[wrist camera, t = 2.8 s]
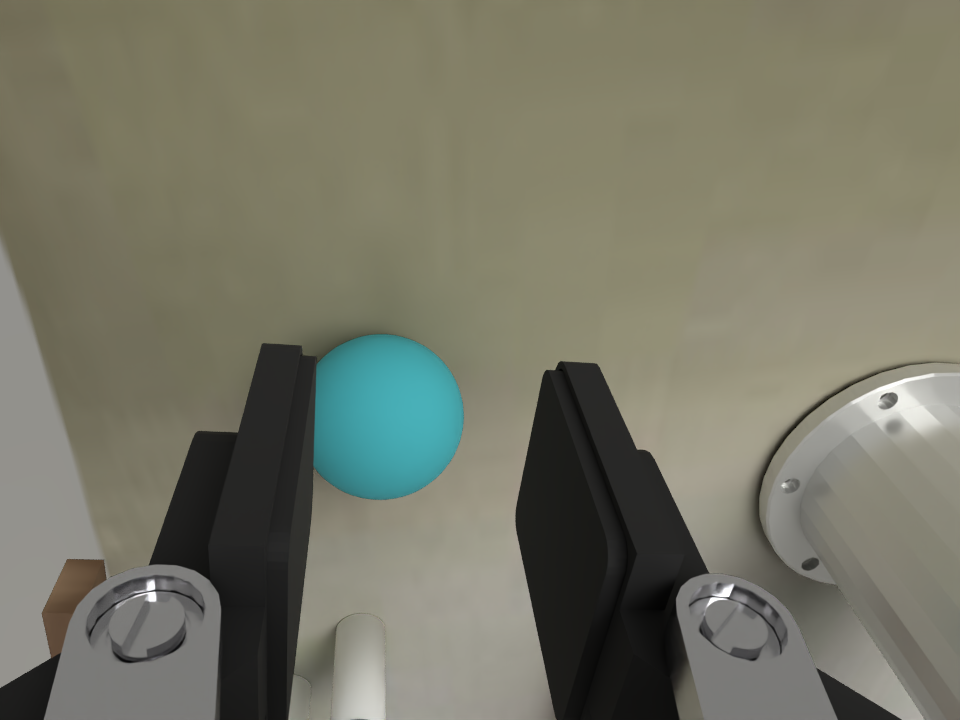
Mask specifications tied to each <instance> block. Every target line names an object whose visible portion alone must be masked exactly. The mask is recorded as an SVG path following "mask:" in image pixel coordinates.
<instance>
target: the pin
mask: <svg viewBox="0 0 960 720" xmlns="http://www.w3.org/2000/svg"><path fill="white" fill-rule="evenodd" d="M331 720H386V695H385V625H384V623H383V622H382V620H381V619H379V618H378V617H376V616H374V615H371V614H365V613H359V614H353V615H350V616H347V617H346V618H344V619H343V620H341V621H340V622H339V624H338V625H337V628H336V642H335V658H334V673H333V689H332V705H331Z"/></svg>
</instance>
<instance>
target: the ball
mask: <svg viewBox="0 0 960 720" xmlns="http://www.w3.org/2000/svg"><path fill="white" fill-rule="evenodd" d="M463 421H464V412H463V402H462V398H461V394H460V391H459V387H458V385H457V383H456V380H455V379H454V377H453V375H452V373H451V372H450V370H449V369H448V367H447V366H446V365H445V364H444V362H443V361H442V360H441V359H440V358H439V357H438V356H437V355H435V354H434V353H433V352H432V351H431V350H429V349H428V348H426V347H425V346H423V345H421V344H419V343H417V342H415V341H413V340H410V339H407V338H405V337H400V336H396V335H388V334H374V335H366V336H362V337H358V338H355V339H352V340H350V341H347V342H345V343H343V344H341V345H339V346H337V347H336V348H334V349H333V350H331V351H330V352H329V353H328V354H327V355H325V356H324V357H323V358H322V359H321V360H320V361H319V362H318V364H317V365H316V398H315V430H314V462H313V467H314V468H315V469H316V470H317V472H318V473H319V474H320V475H321V476H322V477H323V478H324V479H325V480H326V481H328V482H329V483H330V484H332V485H333V486H335V487H336V488H338V489H340V490H341V491H343V492H345V493H348V494H350V495H353V496H357V497H360V498H366V499H374V500H386V499H394V498H399V497H403V496H406V495H409V494H412V493H414V492H416V491H418V490H420V489H422V488H423V487H425V486H426V485H428V484H429V483H431V482H432V481H433V480H434V479H436V478H437V477H438V476H439V475H440V474H441V473H442V472H443V470H444V469H445V468H446V466H447V465H448V464H449V463H450V461H451V459H452V458H453V456H454V454H455V452H456V450H457V447H458V445H459V442H460V439H461V434H462V430H463Z"/></svg>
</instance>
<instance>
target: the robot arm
mask: <svg viewBox="0 0 960 720" xmlns="http://www.w3.org/2000/svg"><path fill="white" fill-rule="evenodd" d="M316 365H317V358H316V356H302V346H299V345H282V344H266V343H263V344H262V346H261V349H260V353H259V357H258V361H257V364H256V368H255V372H254V376H253V379H252V383H251V387H250V390H249V394H248V398H247V402H246V405H245V409H244V413H243V417H242V420H241V424H240V428H239V432H238V433H233V432H209V431H198V432H197V433H195V435H194V438H193V440H192V443H191V445H190V448H189V451H188V454H187V457H186V460H185V463H184V466H183V468H182V471H181V474H180V477H179V480H178V483H177V486H176V489H175V491H174V494H173V497H172V500H171V503H170V506H169V509H168V512H167V514H166V517H165V520H164V523H163V526H162V529H161V532H160V535H159V537H158V540H157V543H156V546H155V549H154V552H153V555H152V558H151V560H150V563H149V566H144V567H138V568H132V569H130V570H127V571H125V572H122V573H120V574H117V575H115V576H112V577H110V578H109V579H107V580H106V581H104V582H103V583H101V584H100V585H98V586H97V587H95V588H93V589H92V590H91V591H90V592H89V593H88V594H87V595H86V596H85V598H84V599H83V600H82V601H81V602H80V603H79V604H78V605H77V607H76V609H75V611H74V613H73V616H72V618H71V620H70V622H69V625H68V629H67V633H66V636H65V640H64V644H63V648H62V652H61V653H59V654H58V655H56V656H54V657H52V658H51V659H49V660H47V661H46V662H44V663H42V664H41V665H39V666H37V667H35V668H34V669H32V670H31V671H29V672H27V673H25V674H23V675H22V676H20V677H18V678H17V679H15V680H13V681H11V682H10V683H8V684H7V685H5V686H3V687H1V688H0V720H288V718H289V709H290V701H291V692H292V683H293V674H294V666H295V657H296V648H297V639H298V631H299V622H300V613H301V604H302V596H303V587H304V578H305V569H306V561H307V552H308V543H309V534H310V525H311V514H312V495H313V462H314V430H315V398H316ZM759 517H760V520H761V524H762V527H763V531H764V533H765V535H766V537H767V538H768V540H769V542H770V544H771V545H772V547H773V549H774V551H775V552H776V554H777V555H778V556H779V557H780V558H781V559H782V561H783V562H784V563H785V564H786V565H787V566H788V567H790V568H791V569H792V570H794V571H795V572H797V573H798V574H800V575H802V576H805V577H808V578H810V579H813V580H815V581H818V582H823V583H828V584H834V585H837V586H838V588H839V589H840V591H841V592H842V594H843V595H844V597H845V598H846V600H847V601H848V603H849V604H850V606H851V607H852V609H853V611H854V612H855V614H856V615H857V617H858V618H859V620H860V621H861V623H862V624H863V626H864V627H865V629H866V630H867V632H868V633H869V635H870V637H871V638H872V640H873V641H874V643H875V644H876V646H877V647H878V649H879V650H880V652H881V653H882V655H883V656H884V658H885V659H886V661H887V662H888V664H889V666H890V667H891V669H892V670H893V672H894V673H895V675H896V676H897V678H898V679H899V681H900V682H901V684H902V685H903V687H904V688H905V690H906V691H907V693H908V695H909V696H910V698H911V699H912V701H913V702H914V704H915V705H916V707H917V708H918V710H919V711H920V713H921V714H922V716H923V717H924V719H925V720H960V364H950V363H927V364H918V365H909V366H905V367H901V368H897V369H894V370H890V371H886V372H882V373H880V374H877V375H875V376H872V377H870V378H868V379H865V380H863V381H861V382H858V383H856V384H854V385H852V386H850V387H849V388H847V389H845V390H844V391H842V392H840V393H838V394H837V395H835V396H833V397H832V398H830V399H828V400H827V401H826V402H825V403H823V404H822V405H821V406H820V407H818V408H817V409H816V410H814V411H813V412H812V413H811V414H809V415H808V416H807V417H806V418H805V419H804V420H803V421H802V422H801V423H800V424H799V425H798V426H797V427H796V428H795V429H794V430H793V431H792V432H791V433H790V435H789V436H788V437H787V438H786V439H785V441H784V442H783V444H782V445H781V447H780V448H779V450H778V451H777V452H776V454H775V455H774V457H773V459H772V461H771V463H770V465H769V467H768V470H767V472H766V474H765V476H764V479H763V483H762V487H761V492H760V496H759ZM516 531H517V536H518V541H519V545H520V550H521V555H522V560H523V565H524V569H525V574H526V579H527V584H528V589H529V593H530V598H531V603H532V608H533V612H534V617H535V622H536V627H537V632H538V636H539V641H540V646H541V651H542V656H543V660H544V665H545V670H546V675H547V679H548V684H549V689H550V694H551V699H552V703H553V708H554V712H555V716H556V719H557V720H901V719H900V718H898V717H896V716H895V715H893V714H891V713H890V712H888V711H886V710H885V709H883V708H882V707H880V706H878V705H877V704H875V703H873V702H872V701H870V700H868V699H867V698H865V697H863V696H862V695H860V694H859V693H857V692H855V691H854V690H852V689H850V688H849V687H847V686H845V685H844V684H842V683H840V682H839V681H837V680H836V679H834V678H832V677H831V676H829V675H827V674H826V673H824V672H822V671H821V670H819V669H817V668H816V667H815V665H814V662H813V660H812V657H811V655H810V653H809V650H808V648H807V645H806V643H805V641H804V638H803V636H802V634H801V631H800V629H799V626H798V625H797V623H796V621H795V620H794V618H793V616H792V615H791V613H790V611H789V610H788V609H787V608H786V607H785V606H784V605H783V604H782V603H781V602H780V601H779V600H778V599H777V598H776V597H775V596H773V595H772V594H770V593H769V592H767V591H766V590H764V589H763V588H761V587H760V586H758V585H756V584H754V583H751V582H749V581H747V580H744V579H742V578H739V577H735V576H730V575H726V574H709V572H708V570H707V568H706V566H705V564H704V562H703V560H702V558H701V556H700V553H699V551H698V549H697V547H696V545H695V543H694V541H693V539H692V537H691V535H690V533H689V530H688V528H687V526H686V524H685V522H684V520H683V518H682V516H681V514H680V512H679V510H678V507H677V505H676V503H675V501H674V499H673V497H672V495H671V493H670V491H669V489H668V487H667V484H666V482H665V480H664V478H663V476H662V474H661V472H660V470H659V468H658V466H657V464H656V462H655V459H654V458H653V456H652V455H651V453H650V452H648V451H646V450H637V449H636V446H635V444H634V442H633V440H632V438H631V435H630V433H629V431H628V429H627V427H626V425H625V422H624V420H623V418H622V416H621V414H620V411H619V409H618V407H617V405H616V403H615V400H614V398H613V396H612V394H611V392H610V389H609V387H608V385H607V383H606V381H605V378H604V376H603V374H602V372H601V370H600V367H599V366H598V365H597V364H595V363H580V362H563V361H560V362H559V363H558V365H557V367H556V370H546V371H545V372H544V375H543V378H542V383H541V388H540V393H539V398H538V402H537V407H536V412H535V417H534V422H533V427H532V432H531V437H530V442H529V447H528V452H527V456H526V461H525V466H524V471H523V476H522V481H521V486H520V491H519V496H518V501H517V506H516Z"/></svg>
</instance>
